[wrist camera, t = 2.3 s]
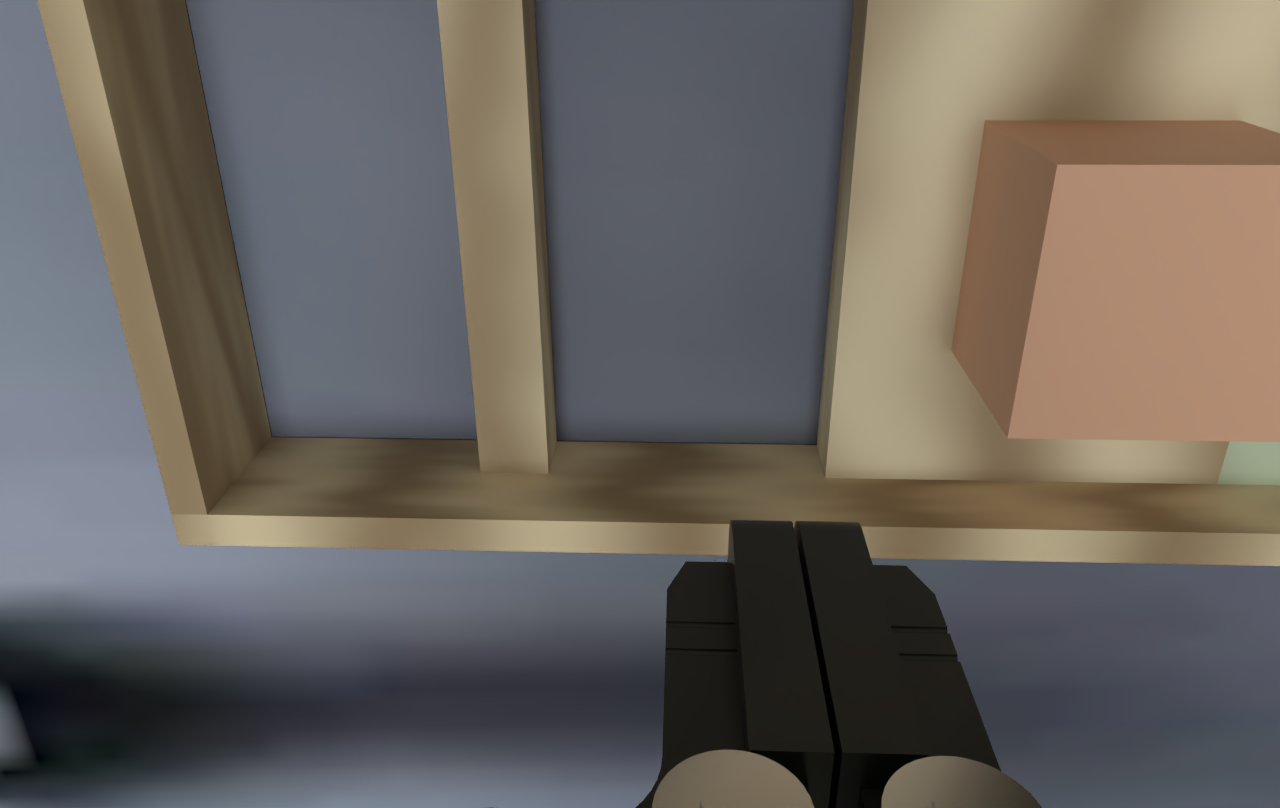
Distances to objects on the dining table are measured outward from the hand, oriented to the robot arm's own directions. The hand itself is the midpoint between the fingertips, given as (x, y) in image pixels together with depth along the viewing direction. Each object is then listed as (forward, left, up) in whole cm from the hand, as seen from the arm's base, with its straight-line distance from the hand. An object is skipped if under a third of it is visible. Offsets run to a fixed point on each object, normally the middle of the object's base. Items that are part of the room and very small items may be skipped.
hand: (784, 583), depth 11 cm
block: (-6, -7, -15) cm, 17 cm away
